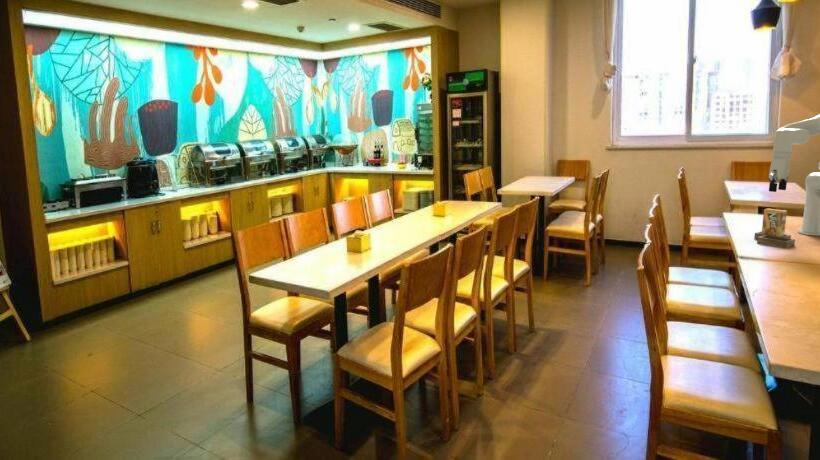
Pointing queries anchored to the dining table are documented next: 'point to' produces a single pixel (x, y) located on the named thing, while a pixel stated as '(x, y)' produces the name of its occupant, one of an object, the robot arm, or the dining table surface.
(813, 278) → the dining table surface
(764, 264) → the dining table surface
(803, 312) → the dining table surface
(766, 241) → the holder
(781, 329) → the dining table surface
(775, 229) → the candy box
